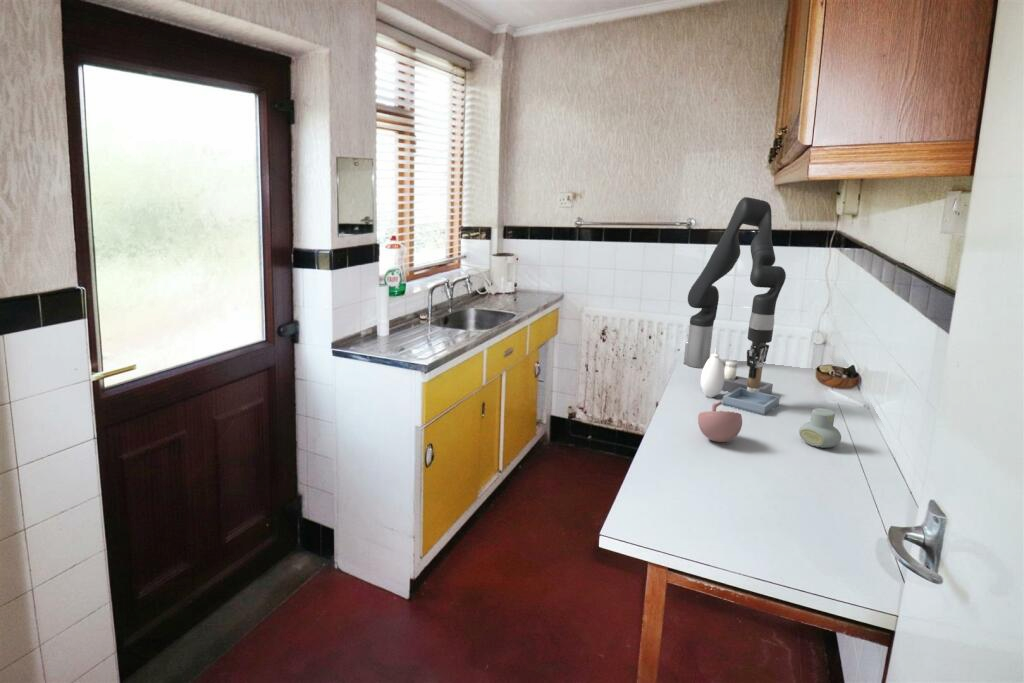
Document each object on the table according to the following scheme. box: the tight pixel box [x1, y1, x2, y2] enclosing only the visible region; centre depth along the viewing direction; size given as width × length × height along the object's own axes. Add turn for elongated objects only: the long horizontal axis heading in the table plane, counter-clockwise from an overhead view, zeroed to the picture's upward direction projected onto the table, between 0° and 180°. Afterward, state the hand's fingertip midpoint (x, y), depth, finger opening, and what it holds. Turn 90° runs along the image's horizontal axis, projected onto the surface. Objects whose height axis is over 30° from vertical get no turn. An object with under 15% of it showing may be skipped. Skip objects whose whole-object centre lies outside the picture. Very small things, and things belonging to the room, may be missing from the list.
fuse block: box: [721, 375, 774, 395], centre depth 224 cm, size 18×9×4 cm, turn 49°
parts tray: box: [721, 387, 781, 416], centre depth 209 cm, size 14×14×3 cm
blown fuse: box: [747, 361, 764, 393], centre depth 207 cm, size 4×4×10 cm
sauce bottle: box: [700, 347, 725, 398], centre depth 215 cm, size 8×8×18 cm
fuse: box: [724, 360, 738, 381], centre depth 226 cm, size 4×4×10 cm
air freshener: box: [798, 407, 842, 449], centre depth 177 cm, size 11×8×10 cm
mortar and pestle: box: [697, 400, 743, 443], centre depth 177 cm, size 12×12×11 cm
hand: (754, 376), depth 207 cm, fingers closed on blown fuse, 4 cm apart
